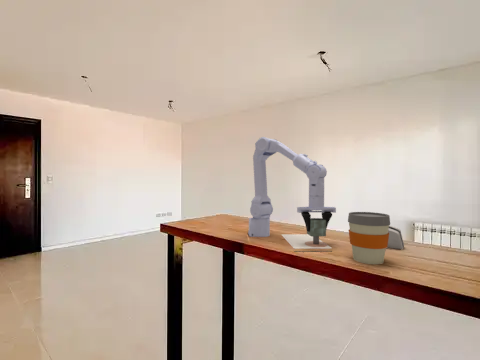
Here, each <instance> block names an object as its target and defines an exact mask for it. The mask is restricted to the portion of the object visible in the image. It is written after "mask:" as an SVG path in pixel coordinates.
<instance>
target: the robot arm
mask: <svg viewBox="0 0 480 360" xmlns="http://www.w3.org/2000/svg"><path fill="white" fill-rule="evenodd" d="M254 145H255V146H254V147H255V149H254V153H253V156H252V159H253V160H252V161H253V181H254V197H253V198H252V200H251V205H250V209H249V212H250V215H251V216H252V217H249V218H248V231H247V234H248V236H249V237H252V238H254V237H255V238H257V237H258V238H268V237H270V233H271V232H270V230H271V228H270V227H271V226H270V224H271V223H270V221H271V219H270V218H271V215H273V212H274V208H273V207H274V206H273V205H272V201H271V198H270V197H269V196H268V184H267V183H268V182H267V165H266V164H267V162H266V161H267V160H268V159H269V158H270V157H271V156H273V155H275V154H276V153H280V154H281V155H283V156H284V157H286V158H287V159H289V160H291V161H292V164H293V166H294V167H295V168H297V169H298V170H299V171H301V172H303V173H304V174H305V175H306V177H307V178H308V206H297V207H296V212H297V213H298V214H299V213H301V214H300V215H301V217H302V218H303V221H304V224H305V228H306V229H305V230H306V232H307V231H308V232H310V218H312V216H311V213H321V218H322V219H324V220H326V230H327V228H328V225H329V223H330V220H331V218H332V217H333V213H337V207H335V206H325V178H326V176H327V172H328V171H327V168H326V167H325V166H324V165H323V164H318V162H317V161H316V160H312V159H311V158H309V157H308V156H309V155H308V154H306V153H296V152H295V151H293V149H292V148H290V147H288V146H287V145H286V144H285V143H283V142H281V141H278V140H277V139H275V138H270V137H266V136H261V137H259V139H257V141H256V142H255V144H254Z"/></svg>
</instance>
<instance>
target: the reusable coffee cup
mask: <svg viewBox="0 0 480 360" xmlns="http://www.w3.org/2000/svg"><path fill="white" fill-rule="evenodd" d="M390 217H391V216H390V215H389V214H386V213H383V212H382V213H381V212H370V211H351V212H348V218H347V222H348V225H349V229H348V235H349V237H348V238H349V243H350V244H351V249H352V250H351V251H352V256H353V257H352V258H353V260H354V261H355V262H358V263H362V264H367V265H381V264H384V260H385V253H386V249H387V248H388V247H387V245H388V239H389V233H388V229H389V225H390V226H391V218H390Z"/></svg>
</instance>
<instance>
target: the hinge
mask: <svg viewBox="0 0 480 360" xmlns="http://www.w3.org/2000/svg"><path fill="white" fill-rule="evenodd" d="M388 233H389V239H388V245H387V248H391V249H396V250H404V247H405V243H404V239H403V235H402V232H401V229H400V228H399V227H396V226H393V225H391V224H390V225H389V229H388Z"/></svg>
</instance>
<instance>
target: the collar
mask: <svg viewBox="0 0 480 360" xmlns="http://www.w3.org/2000/svg"><path fill="white" fill-rule="evenodd" d="M306 234H308V235H310V236H319V237H326V236H327V229H326V220H324V219H322V217H317V218H316V217H311V218H310V232H308V231H307V230H306Z"/></svg>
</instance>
